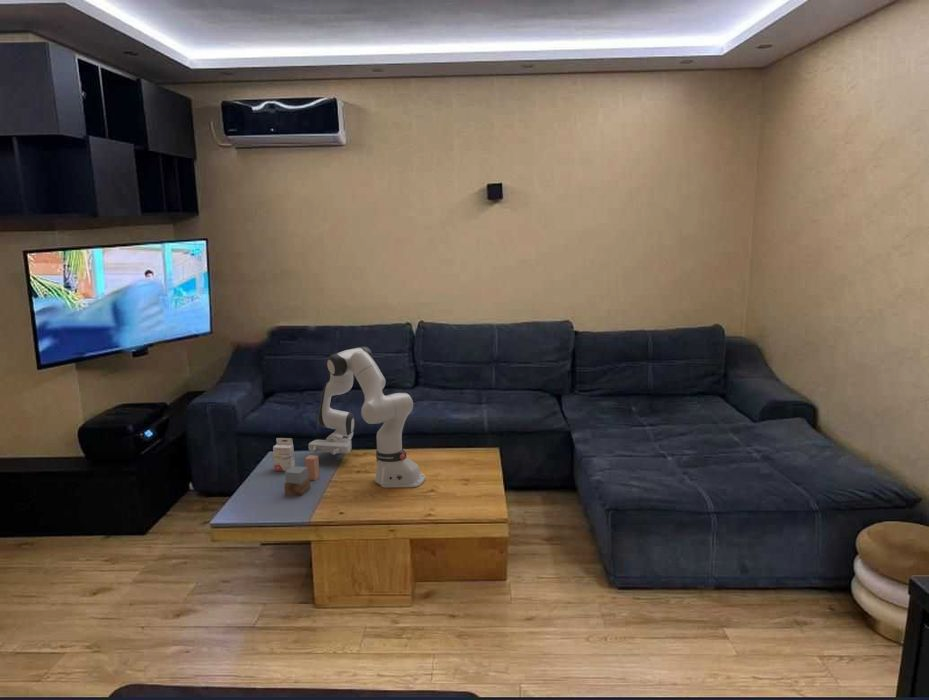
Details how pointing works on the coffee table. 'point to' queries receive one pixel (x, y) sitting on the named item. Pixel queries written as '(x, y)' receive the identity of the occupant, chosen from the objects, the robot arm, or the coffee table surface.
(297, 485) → the tower base
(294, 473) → the tower top
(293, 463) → the ink cartridge box
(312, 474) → the terracotta block
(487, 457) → the coffee table surface
